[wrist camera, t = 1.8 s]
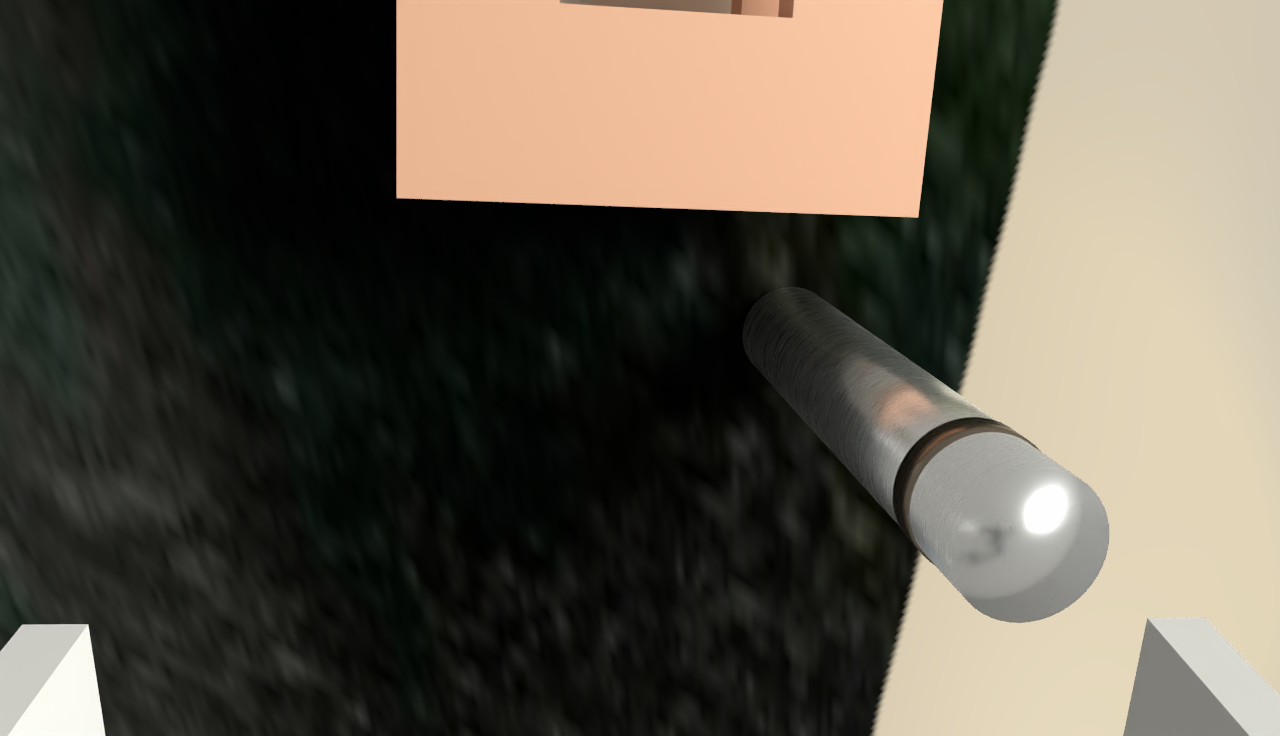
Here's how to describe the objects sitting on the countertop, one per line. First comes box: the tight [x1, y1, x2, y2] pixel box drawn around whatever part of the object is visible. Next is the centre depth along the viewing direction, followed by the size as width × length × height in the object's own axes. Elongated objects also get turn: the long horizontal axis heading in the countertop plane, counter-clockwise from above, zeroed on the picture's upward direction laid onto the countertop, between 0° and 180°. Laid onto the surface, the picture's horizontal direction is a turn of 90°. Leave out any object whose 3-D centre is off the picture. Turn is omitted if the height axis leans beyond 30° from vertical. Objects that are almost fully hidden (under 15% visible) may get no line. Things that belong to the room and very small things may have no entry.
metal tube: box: [742, 287, 1109, 623], centre depth 34 cm, size 4×4×20 cm
